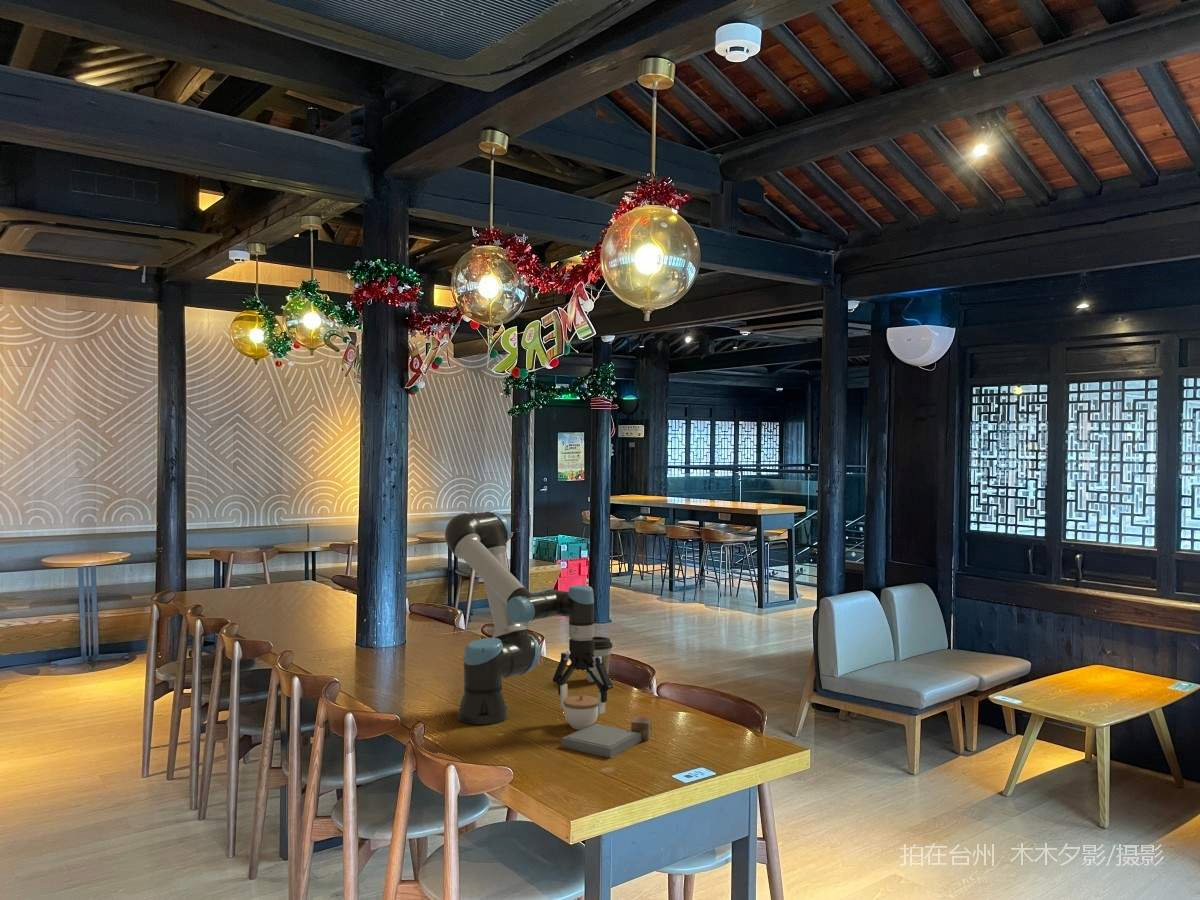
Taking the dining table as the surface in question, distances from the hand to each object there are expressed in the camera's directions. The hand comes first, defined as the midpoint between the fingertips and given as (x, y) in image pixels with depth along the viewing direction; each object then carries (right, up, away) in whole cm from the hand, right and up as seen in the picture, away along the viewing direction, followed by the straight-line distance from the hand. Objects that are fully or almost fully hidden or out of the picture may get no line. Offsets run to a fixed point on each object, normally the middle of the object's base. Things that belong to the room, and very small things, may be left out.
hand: (582, 709), depth 251 cm
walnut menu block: (+17, -5, -10) cm, 20 cm away
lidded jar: (0, -5, 0) cm, 5 cm away
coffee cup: (+4, -6, +52) cm, 53 cm away
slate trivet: (+6, -5, -16) cm, 17 cm away
